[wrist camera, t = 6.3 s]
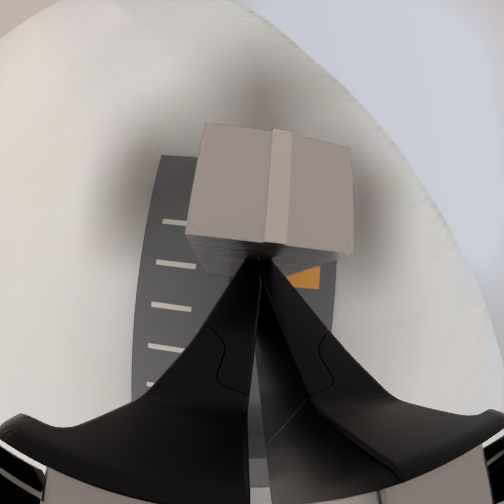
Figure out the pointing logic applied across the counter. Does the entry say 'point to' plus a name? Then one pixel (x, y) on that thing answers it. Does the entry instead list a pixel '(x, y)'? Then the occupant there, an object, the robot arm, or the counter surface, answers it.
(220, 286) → the fader panel
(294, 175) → the fader tab
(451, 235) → the counter surface
